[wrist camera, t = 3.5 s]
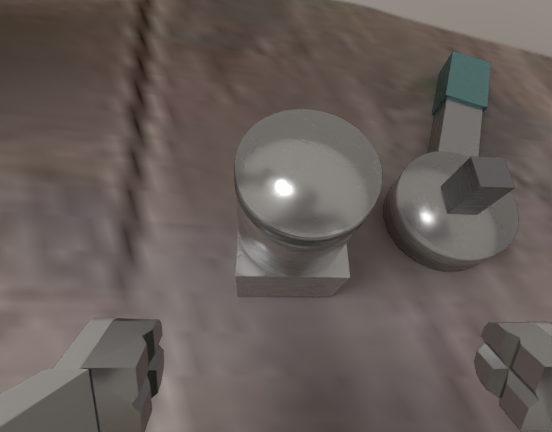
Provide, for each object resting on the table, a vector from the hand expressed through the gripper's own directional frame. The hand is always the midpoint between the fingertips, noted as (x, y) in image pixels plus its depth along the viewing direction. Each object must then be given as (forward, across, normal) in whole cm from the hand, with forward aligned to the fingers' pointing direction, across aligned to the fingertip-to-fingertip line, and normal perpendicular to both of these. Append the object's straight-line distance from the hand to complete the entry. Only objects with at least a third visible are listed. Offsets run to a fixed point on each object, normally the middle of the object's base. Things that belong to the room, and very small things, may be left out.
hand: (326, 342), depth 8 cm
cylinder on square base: (+11, 0, +3) cm, 12 cm away
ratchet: (+16, -12, -2) cm, 20 cm away
